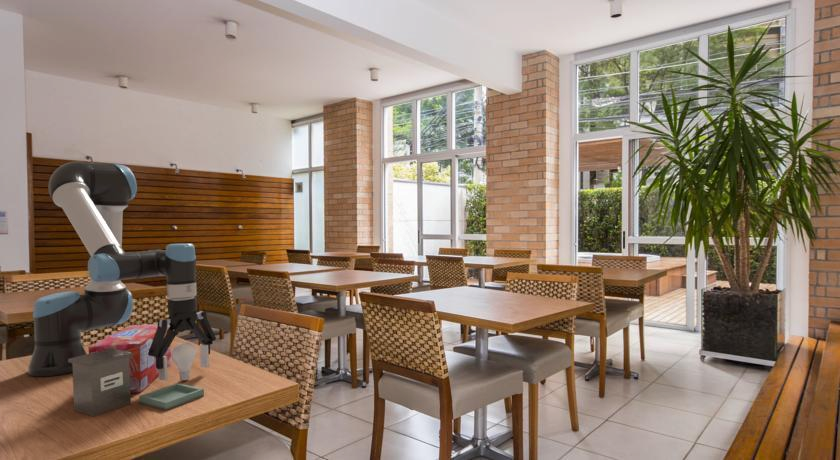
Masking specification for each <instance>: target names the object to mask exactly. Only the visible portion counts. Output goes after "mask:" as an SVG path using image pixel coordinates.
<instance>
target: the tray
mask: <svg viewBox="0 0 840 460" xmlns="http://www.w3.org/2000/svg"><path fill="white" fill-rule="evenodd" d="M204 396H205V390H204V388H201V387H196V386H193V385H188V384H183V383H179V382H178V383H177V382H176V383H174V384H171V385H167V386H165V387H162V388H159V389H156V390H152V391H150V392H148V393H144V394H141V395H139V398H138V399H139V404H142V405H145V406H149V407H152V408H157V409H161V410H164V411H168V410H171V409H173V408H177V407H179V406H181V405H184V404H187V403H190V402H192V401H194V400H196V399H197V400H198V399H200V398H202V397H204Z"/></svg>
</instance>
